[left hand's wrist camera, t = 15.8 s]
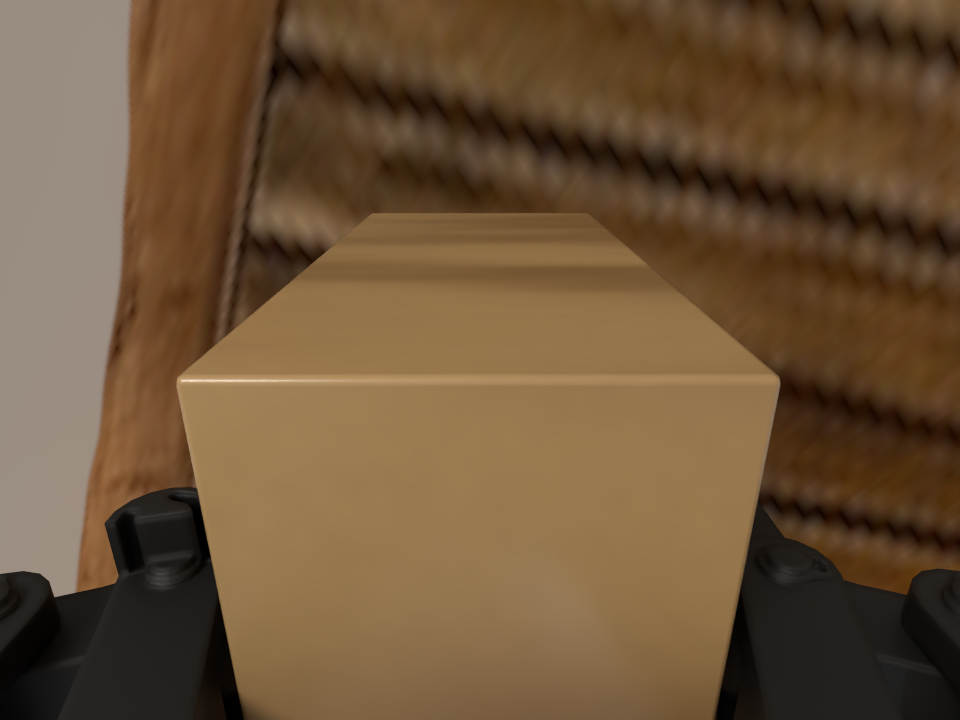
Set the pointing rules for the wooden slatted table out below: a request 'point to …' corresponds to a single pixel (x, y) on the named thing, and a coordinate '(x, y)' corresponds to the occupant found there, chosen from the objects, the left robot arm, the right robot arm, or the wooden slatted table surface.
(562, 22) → the wooden slatted table surface
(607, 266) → the bar
